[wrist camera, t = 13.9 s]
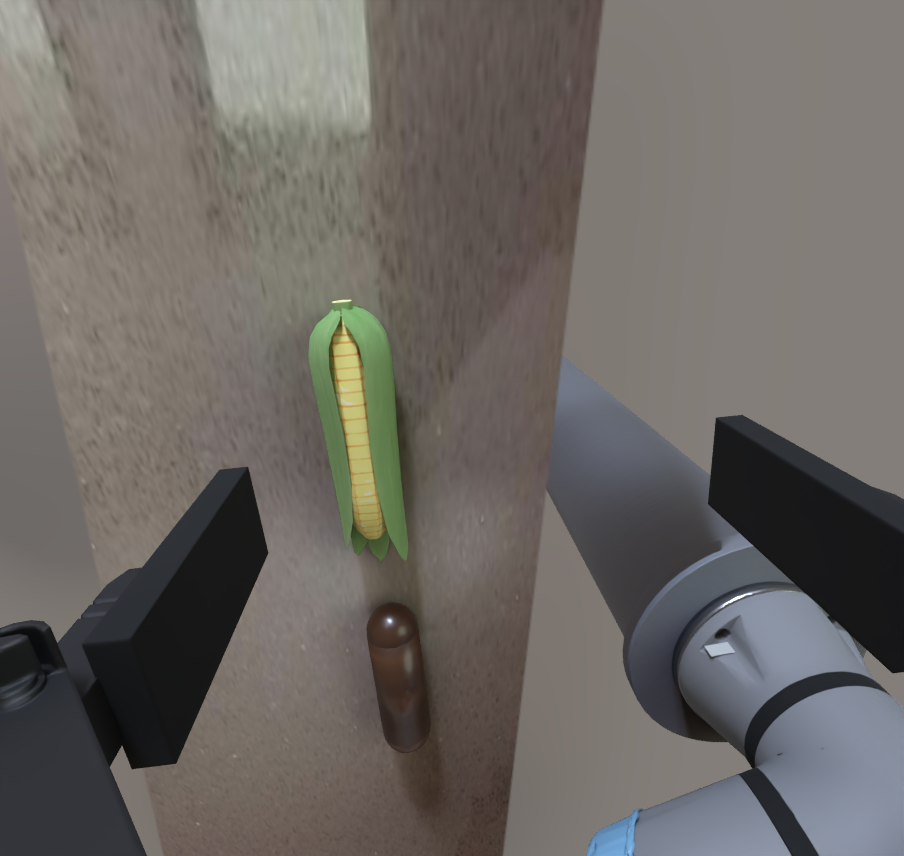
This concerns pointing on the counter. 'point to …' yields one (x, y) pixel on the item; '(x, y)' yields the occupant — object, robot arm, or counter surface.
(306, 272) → the counter surface
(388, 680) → the dark brown capsule
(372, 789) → the counter surface
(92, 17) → the counter surface
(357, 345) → the edible corn
